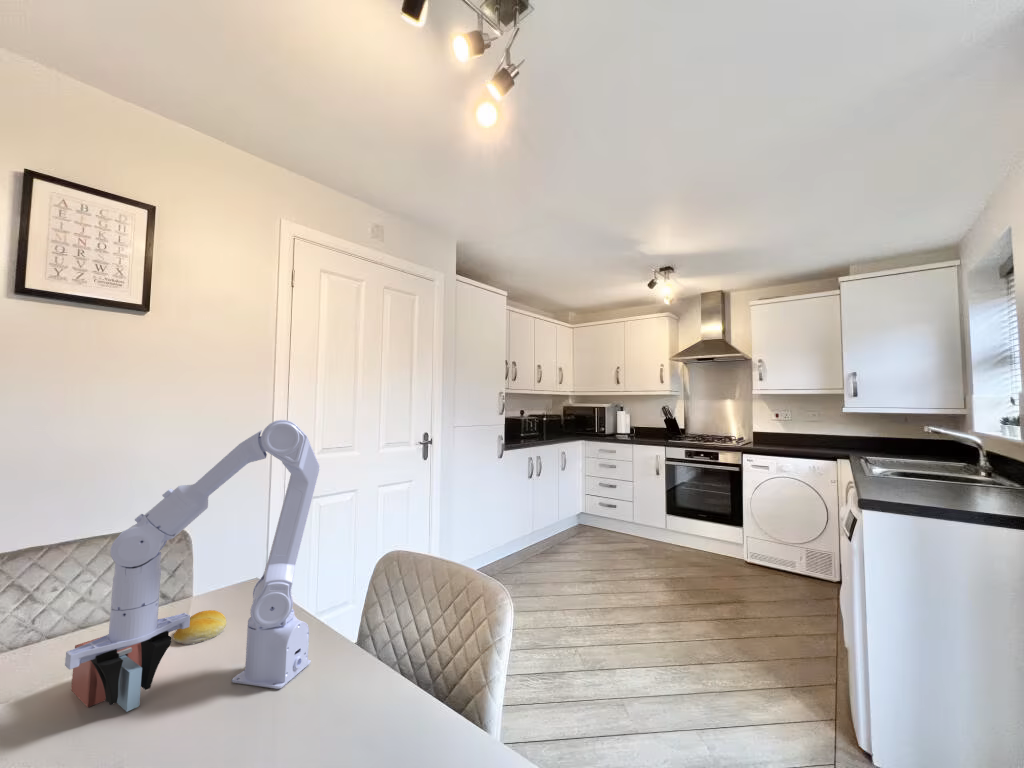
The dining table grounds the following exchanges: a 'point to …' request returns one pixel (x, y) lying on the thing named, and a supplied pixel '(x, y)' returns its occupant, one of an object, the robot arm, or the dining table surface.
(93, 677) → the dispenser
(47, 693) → the dining table surface
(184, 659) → the dining table surface
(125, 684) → the blue-grey rectangular box
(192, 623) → the bread roll
